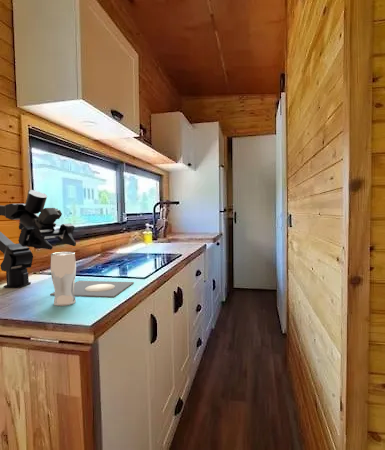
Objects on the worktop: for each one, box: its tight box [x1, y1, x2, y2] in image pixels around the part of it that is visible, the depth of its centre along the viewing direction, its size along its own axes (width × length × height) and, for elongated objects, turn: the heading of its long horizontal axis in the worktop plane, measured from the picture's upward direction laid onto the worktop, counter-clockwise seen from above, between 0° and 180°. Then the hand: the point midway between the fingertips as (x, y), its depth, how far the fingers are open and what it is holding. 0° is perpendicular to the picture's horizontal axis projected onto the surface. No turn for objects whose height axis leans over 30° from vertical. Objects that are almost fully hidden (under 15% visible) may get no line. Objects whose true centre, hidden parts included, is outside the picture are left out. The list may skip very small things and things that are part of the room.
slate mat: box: [49, 280, 134, 298], centre depth 106 cm, size 22×18×1 cm
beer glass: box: [50, 251, 77, 307], centre depth 90 cm, size 7×7×15 cm
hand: (64, 246), depth 99 cm, fingers open, 9 cm apart
